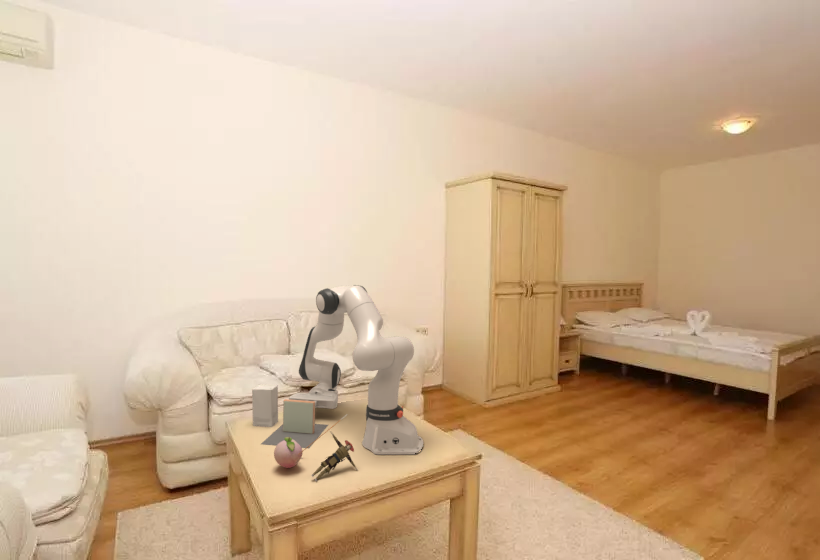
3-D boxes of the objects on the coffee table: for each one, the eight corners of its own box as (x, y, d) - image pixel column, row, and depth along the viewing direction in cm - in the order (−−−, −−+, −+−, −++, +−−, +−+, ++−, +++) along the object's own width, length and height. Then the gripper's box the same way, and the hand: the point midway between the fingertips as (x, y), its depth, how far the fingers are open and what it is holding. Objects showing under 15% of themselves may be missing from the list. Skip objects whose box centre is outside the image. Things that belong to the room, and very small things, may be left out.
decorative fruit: (269, 465, 135) (270, 435, 135) (294, 459, 140) (294, 429, 140) (279, 478, 128) (280, 446, 127) (305, 471, 133) (306, 439, 132)
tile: (314, 432, 162) (315, 401, 161) (312, 434, 160) (313, 403, 159) (284, 429, 163) (285, 399, 163) (282, 431, 161) (283, 400, 161)
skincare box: (278, 422, 171) (279, 384, 171) (271, 428, 165) (272, 389, 164) (258, 421, 172) (259, 383, 172) (251, 427, 166) (251, 388, 165)
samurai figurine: (321, 499, 131) (368, 455, 144) (331, 499, 124) (380, 453, 136) (292, 456, 133) (341, 416, 145) (300, 453, 125) (351, 411, 137)
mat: (328, 425, 169) (328, 424, 169) (309, 449, 148) (309, 448, 148) (285, 422, 172) (285, 421, 172) (260, 445, 150) (260, 444, 150)
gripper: (295, 387, 184) (282, 397, 171) (341, 390, 182) (331, 400, 168) (295, 401, 184) (282, 412, 171) (340, 405, 182) (331, 416, 168)
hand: (307, 406), depth 169 cm, fingers closed
